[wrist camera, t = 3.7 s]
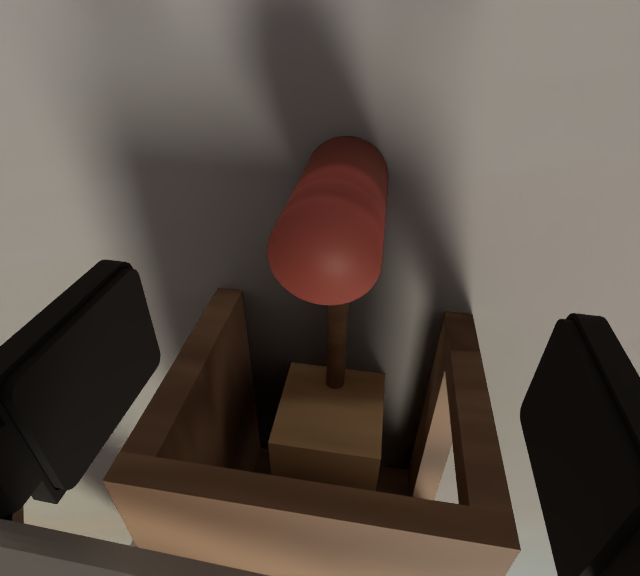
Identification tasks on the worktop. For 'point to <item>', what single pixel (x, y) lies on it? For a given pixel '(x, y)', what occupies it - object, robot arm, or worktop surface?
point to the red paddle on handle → (331, 315)
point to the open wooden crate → (307, 496)
